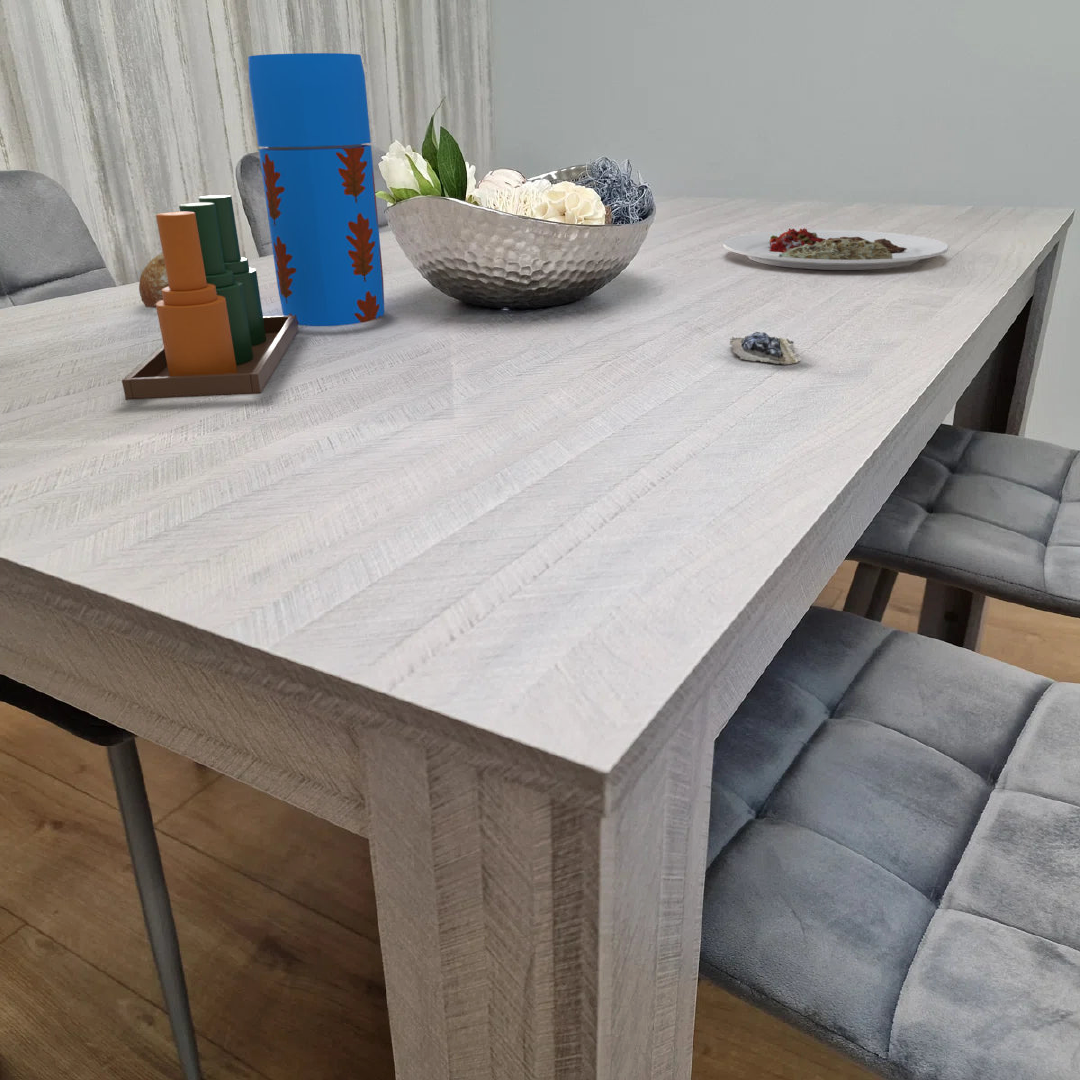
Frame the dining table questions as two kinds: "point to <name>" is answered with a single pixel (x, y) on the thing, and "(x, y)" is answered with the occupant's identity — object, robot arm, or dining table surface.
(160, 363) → the tray
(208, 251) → the green bottle
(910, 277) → the dining table surface
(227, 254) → the green bottle
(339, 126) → the thermos
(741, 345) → the blueberry tart
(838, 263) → the plated food
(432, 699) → the dining table surface
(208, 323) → the amber bottle
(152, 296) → the bread roll
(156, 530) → the dining table surface
